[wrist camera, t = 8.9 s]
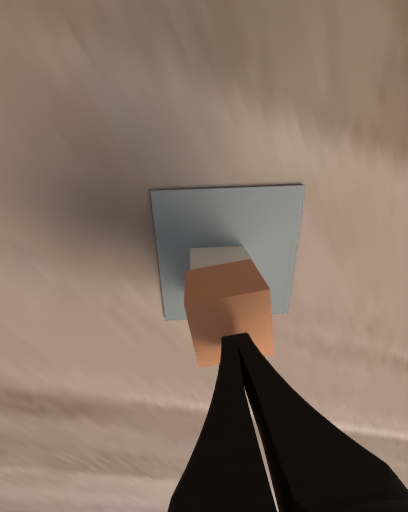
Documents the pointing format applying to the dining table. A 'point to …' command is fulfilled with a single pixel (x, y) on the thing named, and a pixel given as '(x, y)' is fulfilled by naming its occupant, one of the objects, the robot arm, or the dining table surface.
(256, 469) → the robot arm
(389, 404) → the dining table surface
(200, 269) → the terracotta block
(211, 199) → the grey square plate
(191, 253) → the cream block
